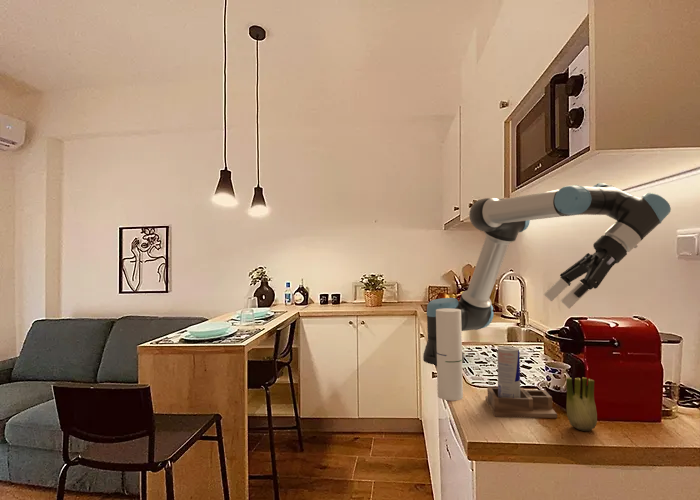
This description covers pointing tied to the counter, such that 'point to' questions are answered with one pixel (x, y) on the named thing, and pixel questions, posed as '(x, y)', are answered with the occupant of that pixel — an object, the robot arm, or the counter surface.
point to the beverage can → (508, 372)
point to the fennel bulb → (581, 404)
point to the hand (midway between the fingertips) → (555, 301)
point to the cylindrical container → (449, 354)
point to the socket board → (521, 404)
